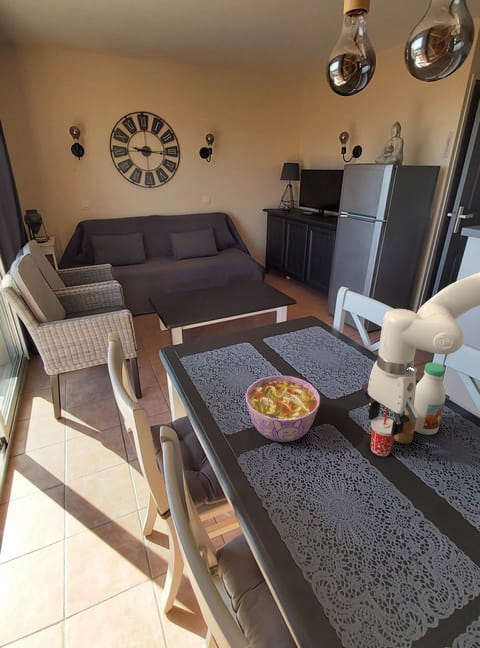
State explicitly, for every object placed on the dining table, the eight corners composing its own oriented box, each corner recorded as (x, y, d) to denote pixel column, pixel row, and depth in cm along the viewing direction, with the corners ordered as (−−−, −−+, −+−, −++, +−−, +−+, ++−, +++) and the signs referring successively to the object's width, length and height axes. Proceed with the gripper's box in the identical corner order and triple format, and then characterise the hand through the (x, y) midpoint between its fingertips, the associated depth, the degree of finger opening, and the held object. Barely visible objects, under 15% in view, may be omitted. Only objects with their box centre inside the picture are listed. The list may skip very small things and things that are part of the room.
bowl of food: (292, 469, 89) (293, 432, 84) (231, 433, 101) (230, 399, 96) (330, 426, 102) (333, 392, 98) (273, 399, 115) (274, 367, 110)
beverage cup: (398, 456, 91) (406, 411, 86) (379, 465, 89) (387, 419, 83) (379, 441, 96) (386, 397, 91) (362, 448, 94) (368, 405, 89)
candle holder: (410, 431, 99) (415, 405, 96) (418, 449, 93) (424, 421, 90) (386, 430, 100) (390, 404, 96) (392, 447, 94) (397, 420, 90)
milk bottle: (409, 435, 98) (422, 373, 90) (404, 417, 105) (416, 357, 97) (440, 439, 96) (456, 376, 88) (433, 420, 103) (447, 360, 95)
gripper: (440, 375, 77) (425, 440, 84) (375, 343, 91) (367, 402, 98) (418, 386, 74) (405, 453, 81) (354, 351, 87) (347, 411, 94)
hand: (384, 424), depth 89 cm, fingers closed on beverage cup, 6 cm apart
